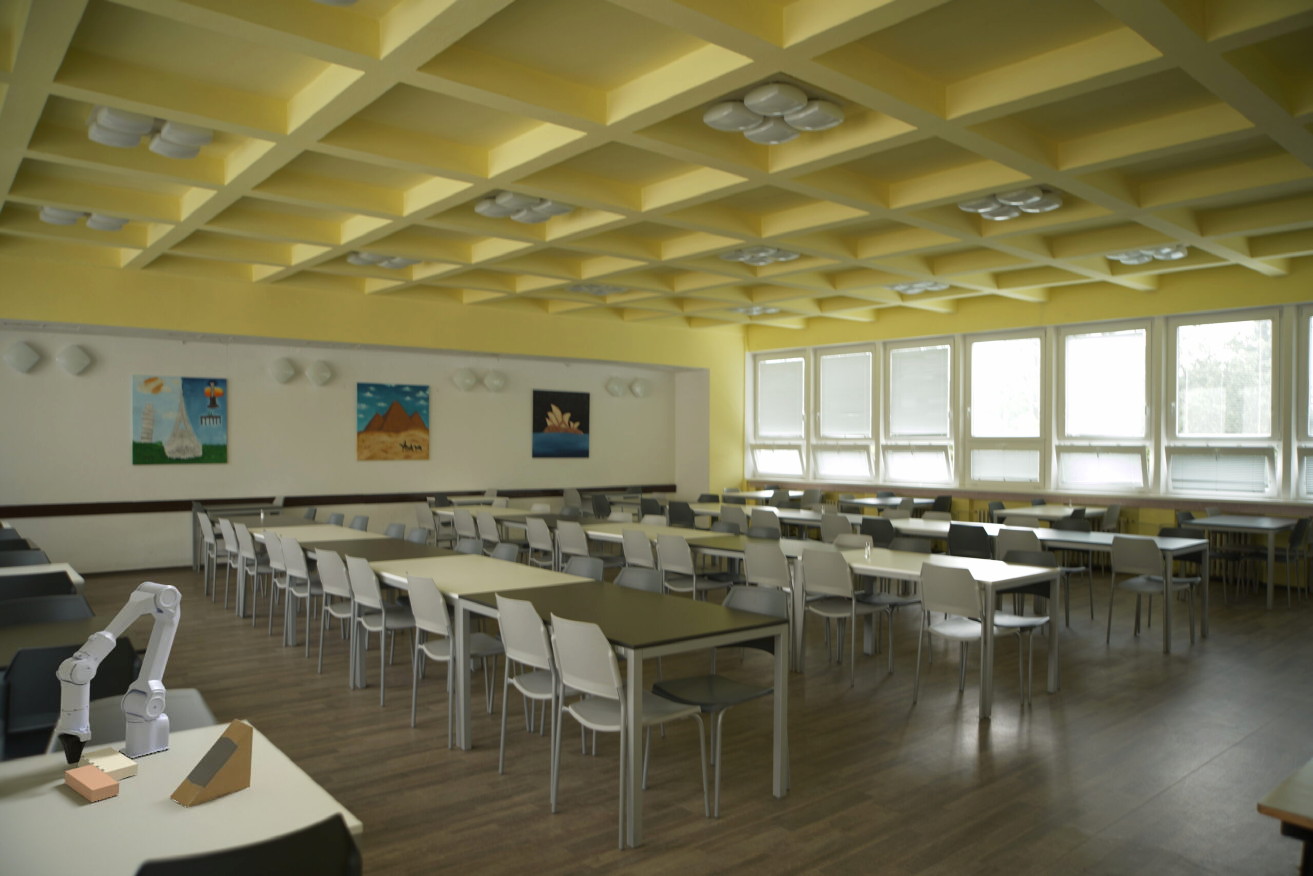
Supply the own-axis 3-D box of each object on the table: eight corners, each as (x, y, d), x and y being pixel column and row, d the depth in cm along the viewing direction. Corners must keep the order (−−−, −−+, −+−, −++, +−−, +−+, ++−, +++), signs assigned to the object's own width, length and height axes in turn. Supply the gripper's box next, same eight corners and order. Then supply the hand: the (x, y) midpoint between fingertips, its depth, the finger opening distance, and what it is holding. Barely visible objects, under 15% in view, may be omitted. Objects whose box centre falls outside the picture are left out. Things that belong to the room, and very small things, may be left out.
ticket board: (110, 758, 217) (110, 746, 217) (137, 775, 207) (137, 763, 207) (78, 766, 211) (78, 754, 211) (104, 784, 201) (105, 772, 201)
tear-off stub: (90, 775, 205) (91, 764, 205) (118, 794, 196) (119, 783, 196) (64, 782, 201) (65, 771, 201) (92, 802, 191) (92, 790, 191)
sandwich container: (167, 798, 196) (169, 734, 196) (232, 778, 208) (234, 717, 208) (185, 809, 191) (187, 743, 191) (250, 787, 203) (253, 726, 203)
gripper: (44, 704, 207) (43, 759, 207) (67, 718, 198) (65, 776, 198) (77, 698, 212) (75, 751, 213) (101, 711, 204) (99, 767, 204)
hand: (73, 762), depth 206 cm, fingers closed
